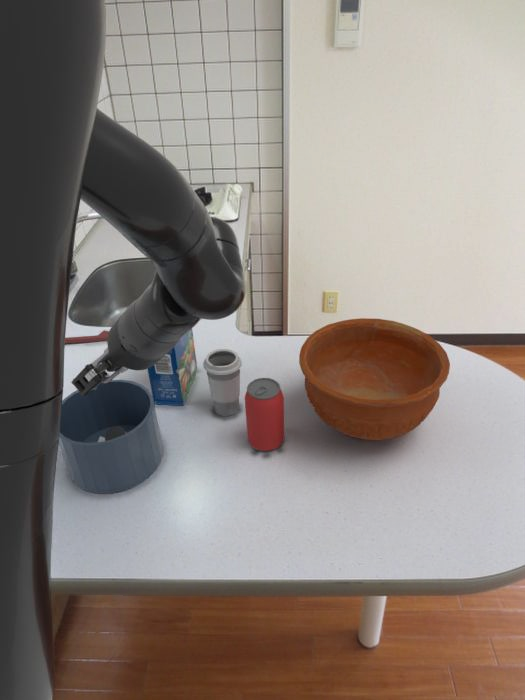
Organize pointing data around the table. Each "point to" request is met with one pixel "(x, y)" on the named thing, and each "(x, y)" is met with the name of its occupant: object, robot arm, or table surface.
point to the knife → (88, 338)
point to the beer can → (264, 414)
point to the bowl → (373, 376)
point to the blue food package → (174, 373)
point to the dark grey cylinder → (112, 433)
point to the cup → (224, 380)
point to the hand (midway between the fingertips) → (105, 374)
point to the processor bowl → (119, 453)
